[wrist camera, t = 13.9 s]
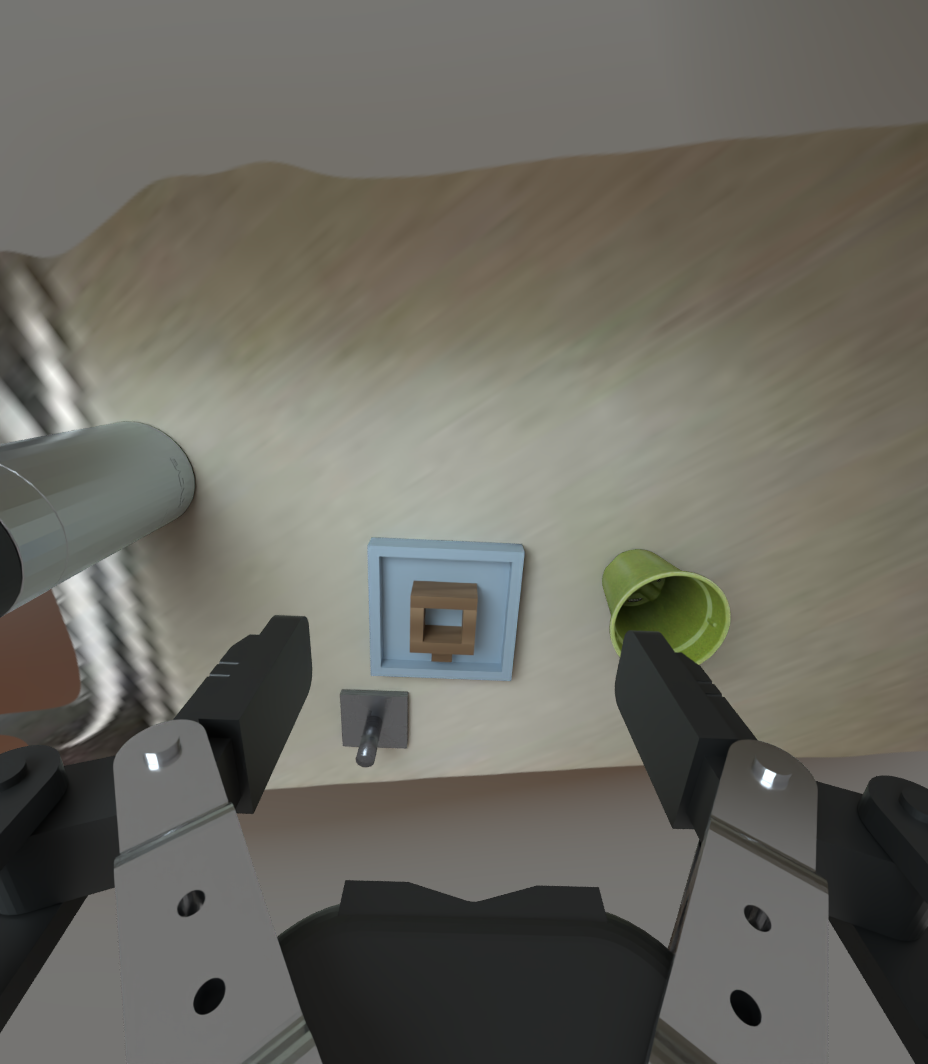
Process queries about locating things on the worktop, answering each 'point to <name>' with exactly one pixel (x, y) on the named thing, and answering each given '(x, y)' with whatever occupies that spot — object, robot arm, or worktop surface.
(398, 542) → the tray
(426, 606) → the brown hollow rectangular frame
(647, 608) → the plant pot
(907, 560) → the worktop surface
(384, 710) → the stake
